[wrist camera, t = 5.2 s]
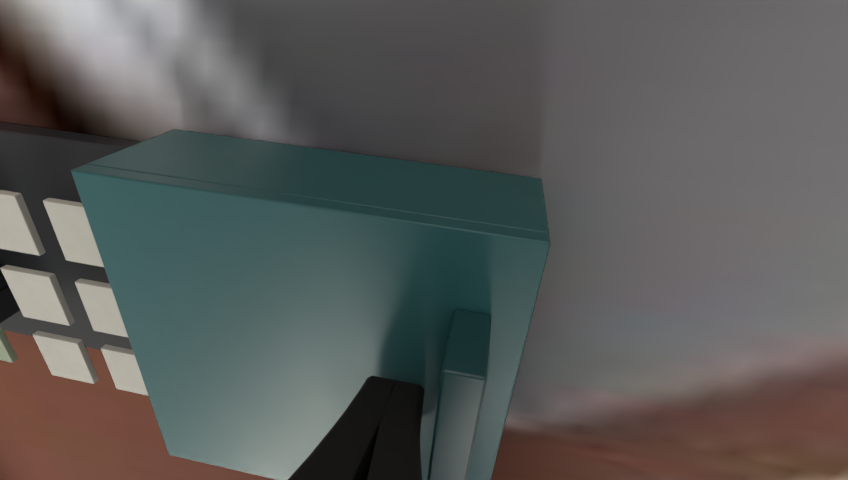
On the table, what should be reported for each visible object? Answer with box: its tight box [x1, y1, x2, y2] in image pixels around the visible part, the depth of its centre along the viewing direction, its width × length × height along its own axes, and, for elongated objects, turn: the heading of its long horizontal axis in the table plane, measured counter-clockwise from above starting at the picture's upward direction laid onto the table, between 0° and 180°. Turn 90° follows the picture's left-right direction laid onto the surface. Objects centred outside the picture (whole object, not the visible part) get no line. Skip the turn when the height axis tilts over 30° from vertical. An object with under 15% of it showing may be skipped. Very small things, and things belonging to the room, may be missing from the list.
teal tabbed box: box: [71, 129, 550, 480], centre depth 12 cm, size 10×10×5 cm
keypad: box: [0, 190, 148, 395], centre depth 13 cm, size 7×9×1 cm
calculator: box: [0, 122, 141, 350], centre depth 14 cm, size 16×8×2 cm, turn 86°
